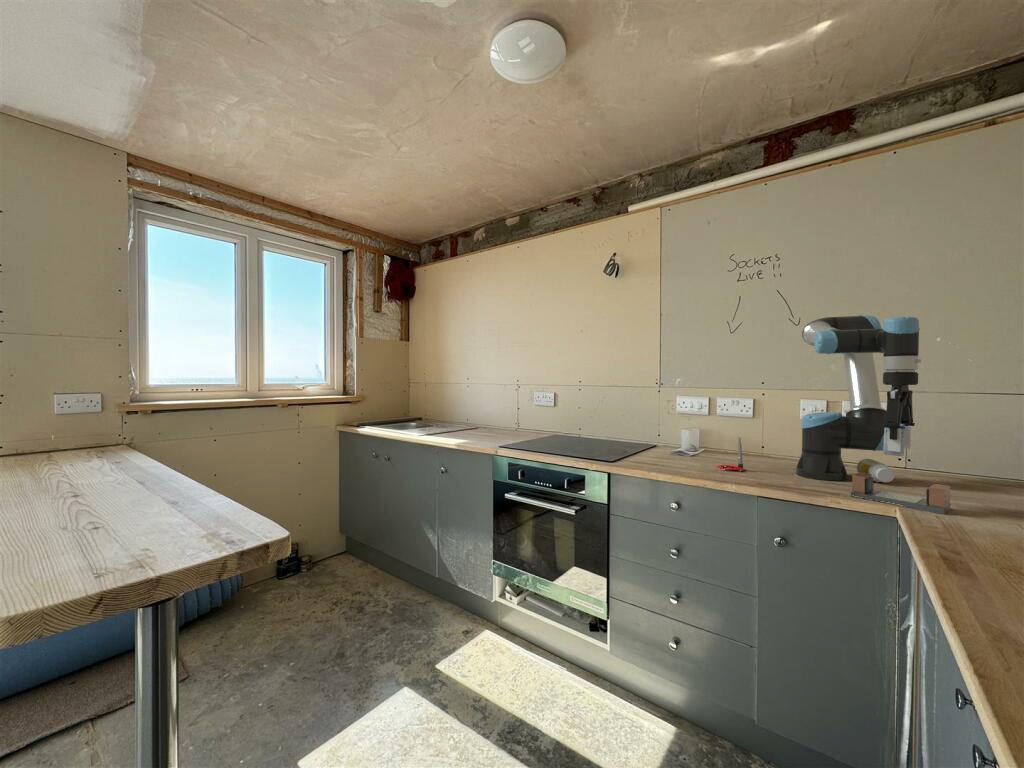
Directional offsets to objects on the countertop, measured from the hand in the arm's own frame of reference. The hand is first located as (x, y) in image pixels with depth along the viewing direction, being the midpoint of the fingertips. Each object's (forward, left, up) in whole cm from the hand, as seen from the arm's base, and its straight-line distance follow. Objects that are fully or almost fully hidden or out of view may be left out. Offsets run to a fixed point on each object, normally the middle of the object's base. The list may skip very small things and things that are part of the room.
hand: (899, 449), depth 122 cm
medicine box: (-1, 0, -2) cm, 2 cm away
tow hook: (-51, +3, -16) cm, 54 cm away
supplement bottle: (-16, +32, -12) cm, 38 cm away
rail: (0, 0, -15) cm, 15 cm away
